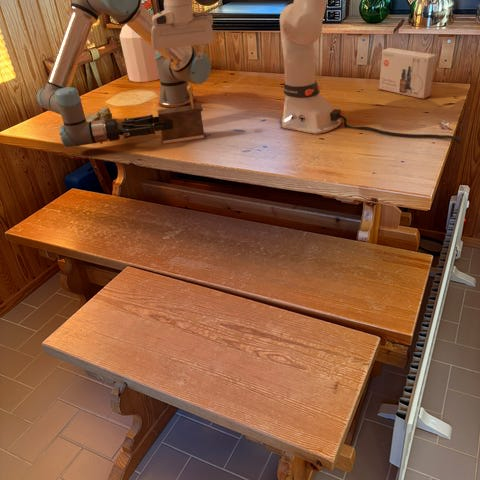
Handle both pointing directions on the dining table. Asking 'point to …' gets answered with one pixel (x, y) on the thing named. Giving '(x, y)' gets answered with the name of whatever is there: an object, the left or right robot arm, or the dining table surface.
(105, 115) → the rock
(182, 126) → the chest
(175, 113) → the lid
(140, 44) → the container
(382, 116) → the dining table surface
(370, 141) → the dining table surface
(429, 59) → the skincare box
